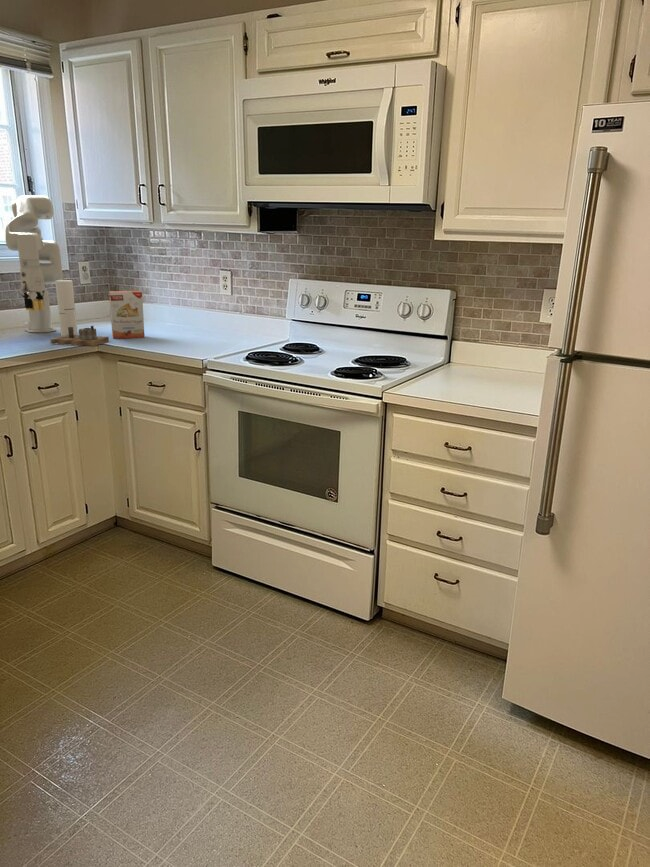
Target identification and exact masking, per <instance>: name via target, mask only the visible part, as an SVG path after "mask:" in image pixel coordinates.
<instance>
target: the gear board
mask: <svg viewBox="0 0 650 867" xmlns="http://www.w3.org/2000/svg"><path fill="white" fill-rule="evenodd" d="M68 332H69V335H65V336H61V335H60V336H58V337H53V338H50V344H51V343H58V344H57V345H64V344H71V345H70V346H84V347H85V346H86V347H95V346H98V345H101V344H105V343H108V342H110V338H109V336H100V335H99V336H97V328H95V327H94V325H90V327H84V328H79V329H78V335H74V332H73V327H68Z"/></svg>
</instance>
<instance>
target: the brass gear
mask: <svg viewBox="0 0 650 867" xmlns="http://www.w3.org/2000/svg"><path fill="white" fill-rule="evenodd" d="M32 305H33V308H32V309H31V308H25V310H26V311H29V310H43V309H44V302H43V299H32Z"/></svg>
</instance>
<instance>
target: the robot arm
mask: <svg viewBox="0 0 650 867" xmlns="http://www.w3.org/2000/svg"><path fill="white" fill-rule="evenodd" d="M11 209H12V214H13V219H11V220H9V222H8V223H7V224H6V226H5V244H6V247H7V248H8V249H9V250H10V251H12V252H13V251H15V252H16V251H17V252H18V258H19V265H20V266H19V269H20V271H19V277H20V278H19V279H20V287H19V290H18V291H19V293H20V294H21V296H22V298H23V300H24V308H25V309H26V308H31V309H32V308H33V305H32V299H43V302H44V309H43V310H28V318H29V321H25V322H24V323H23V326H24V327H28V328H27V329H26V330H27V332H28V333H35V334H36V333H37V334H39V333H42V334H43V333H51V332H55V331H57V330H56V329H57V328H56V327H54V326H53V323H52V315H51V306H50V296H49V292H48V290H47V289H46V286H45V285H56V283H55V281H57V280H64V279H63V278H64V277H63V275H64V274H63V267H62V266H63V265H62V256H61V250H60V247H59V246H60V245H59V244H58V243H57V242H56V241H55V240H51V239H50V240H49V239H48V240H43V237H42V231H41V228H40V227H39V226H38V224H39V220H51V219H52V218H53V217H54V206H53V204H52V201H51V200H50V198H49V197H48V196H46V195H36V194H35V195H31V194H29V195H28V194H27V195H25V194H23V195H20V196H18V197H17V199H16V200H14V201H12V203H11ZM42 262H44V263H42ZM47 262H48V263H47ZM49 262H50V263H49Z"/></svg>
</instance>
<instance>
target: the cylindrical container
mask: <svg viewBox="0 0 650 867" xmlns="http://www.w3.org/2000/svg"><path fill="white" fill-rule="evenodd" d="M55 283H56V284H55V292H56V301H57V310H58V319H59V327H60V337H61V336H65V335H69V332H68V327H73V332H74V335H79V332H78V324H77V317H76V316H77V314H76V305H75V295H74V294H75V293H74V284H73V280H70V279H68V280H67V279H62V280H57V281H55Z"/></svg>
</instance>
